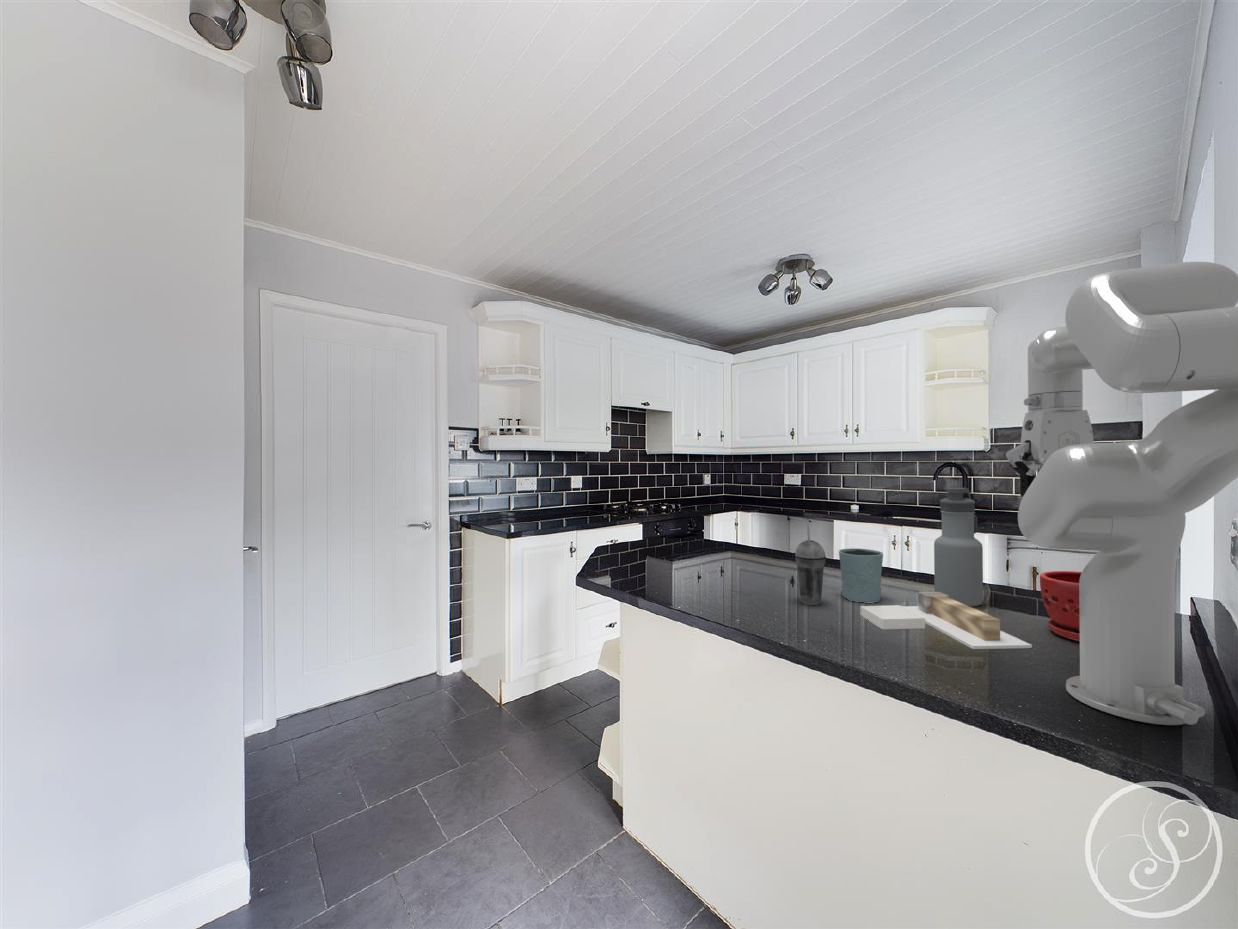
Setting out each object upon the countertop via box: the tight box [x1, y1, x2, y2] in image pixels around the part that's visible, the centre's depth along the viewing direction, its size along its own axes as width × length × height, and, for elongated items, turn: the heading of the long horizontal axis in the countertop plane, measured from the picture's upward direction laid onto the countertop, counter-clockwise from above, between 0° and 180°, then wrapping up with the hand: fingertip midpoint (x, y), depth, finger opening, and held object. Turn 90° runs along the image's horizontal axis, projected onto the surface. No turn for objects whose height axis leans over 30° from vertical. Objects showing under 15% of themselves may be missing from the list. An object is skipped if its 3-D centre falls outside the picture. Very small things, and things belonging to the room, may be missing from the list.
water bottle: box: [933, 486, 984, 608], centre depth 119 cm, size 10×10×28 cm
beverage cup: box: [794, 522, 827, 606], centre depth 120 cm, size 7×7×20 cm
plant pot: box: [1039, 570, 1082, 643], centre depth 95 cm, size 13×13×12 cm
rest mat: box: [901, 605, 1033, 650], centre depth 102 cm, size 24×11×1 cm, turn 0°
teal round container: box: [838, 547, 884, 602], centre depth 123 cm, size 10×10×12 cm
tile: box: [859, 604, 926, 630], centre depth 106 cm, size 3×9×9 cm
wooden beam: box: [917, 591, 1001, 641], centre depth 102 cm, size 19×5×4 cm, turn 0°
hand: (1055, 496), depth 90 cm, fingers open, 9 cm apart
